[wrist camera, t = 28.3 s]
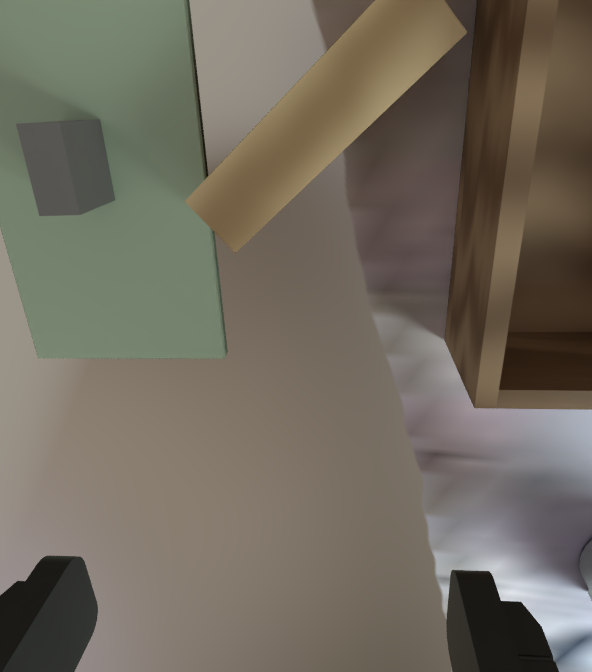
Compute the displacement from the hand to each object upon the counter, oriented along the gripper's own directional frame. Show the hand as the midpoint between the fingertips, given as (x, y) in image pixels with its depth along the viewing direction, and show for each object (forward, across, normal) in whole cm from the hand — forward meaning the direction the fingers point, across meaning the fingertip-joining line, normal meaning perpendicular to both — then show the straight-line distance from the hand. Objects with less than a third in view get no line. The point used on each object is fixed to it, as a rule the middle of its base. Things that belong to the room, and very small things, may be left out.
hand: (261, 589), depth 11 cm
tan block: (+26, 0, -9) cm, 28 cm away
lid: (+27, +15, -6) cm, 31 cm away
